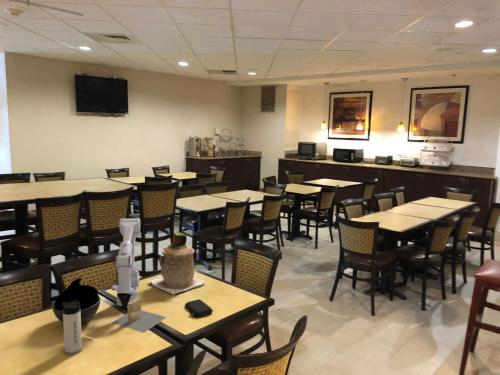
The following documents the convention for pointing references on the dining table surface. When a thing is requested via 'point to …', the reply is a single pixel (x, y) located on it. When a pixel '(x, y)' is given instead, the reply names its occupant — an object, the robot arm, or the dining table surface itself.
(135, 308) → the brown wooden block
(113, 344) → the dining table surface
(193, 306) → the carrying case or bag
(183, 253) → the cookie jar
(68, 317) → the travel mug
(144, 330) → the mat
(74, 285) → the bowl of black rocks
